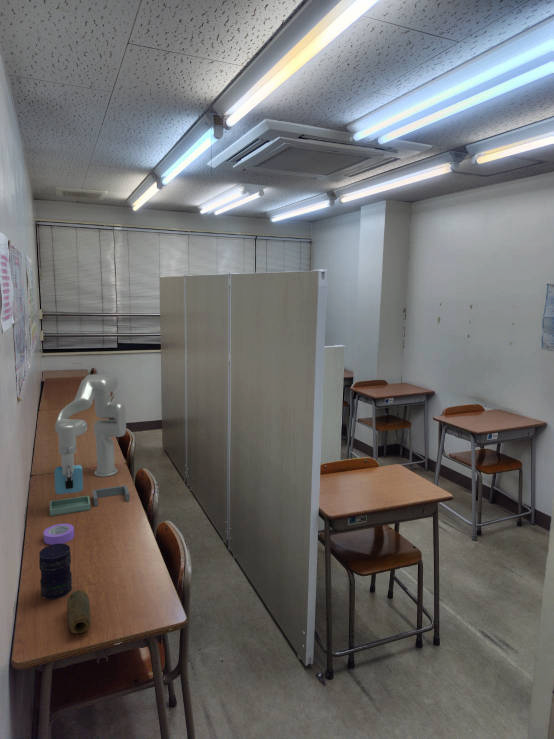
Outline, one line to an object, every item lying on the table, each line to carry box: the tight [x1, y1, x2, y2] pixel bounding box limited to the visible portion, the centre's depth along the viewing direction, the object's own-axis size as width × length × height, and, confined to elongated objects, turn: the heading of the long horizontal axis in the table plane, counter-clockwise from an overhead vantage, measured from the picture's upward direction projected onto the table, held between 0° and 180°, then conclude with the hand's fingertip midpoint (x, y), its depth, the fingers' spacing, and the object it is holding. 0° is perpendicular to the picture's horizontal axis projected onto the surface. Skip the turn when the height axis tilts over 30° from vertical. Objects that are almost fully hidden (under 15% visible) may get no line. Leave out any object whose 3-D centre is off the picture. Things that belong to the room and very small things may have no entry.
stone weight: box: [66, 589, 92, 635], centre depth 148 cm, size 15×7×7 cm, turn 30°
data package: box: [54, 464, 84, 495], centre depth 224 cm, size 12×4×12 cm, turn 113°
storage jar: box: [38, 543, 73, 600], centre depth 162 cm, size 10×10×15 cm
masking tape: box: [43, 523, 75, 546], centre depth 199 cm, size 12×12×4 cm
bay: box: [92, 484, 131, 507], centre depth 237 cm, size 12×16×4 cm
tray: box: [49, 495, 92, 517], centre depth 226 cm, size 11×18×3 cm, turn 115°
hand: (69, 485), depth 224 cm, fingers closed on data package, 4 cm apart
